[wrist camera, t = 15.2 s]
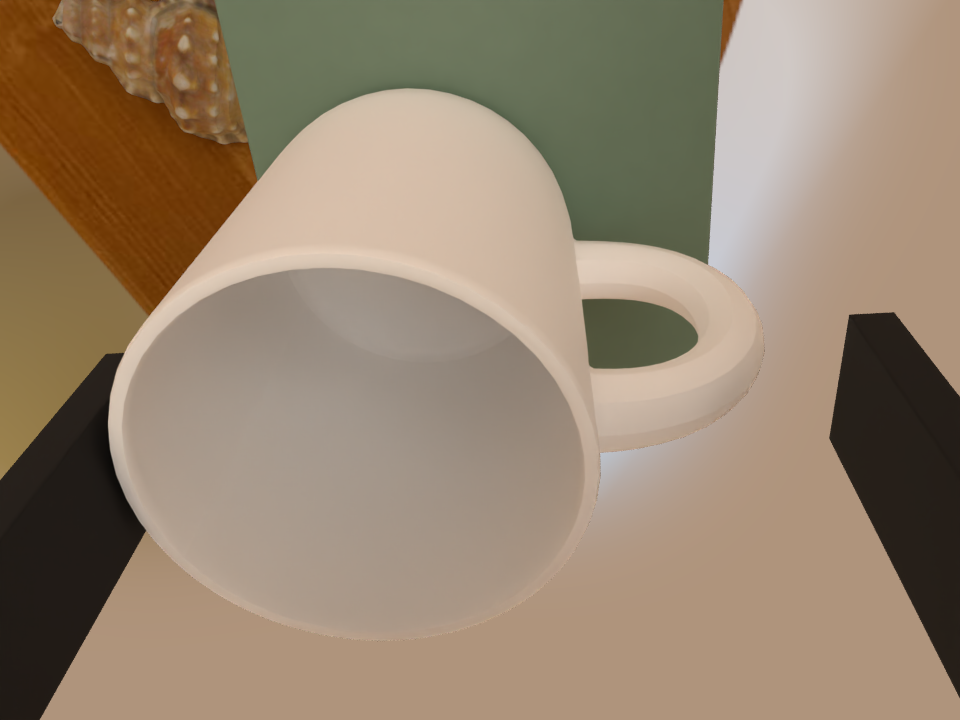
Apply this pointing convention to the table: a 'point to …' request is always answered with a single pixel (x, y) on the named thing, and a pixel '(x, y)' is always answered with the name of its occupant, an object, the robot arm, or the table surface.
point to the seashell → (163, 57)
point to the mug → (402, 377)
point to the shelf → (523, 109)
